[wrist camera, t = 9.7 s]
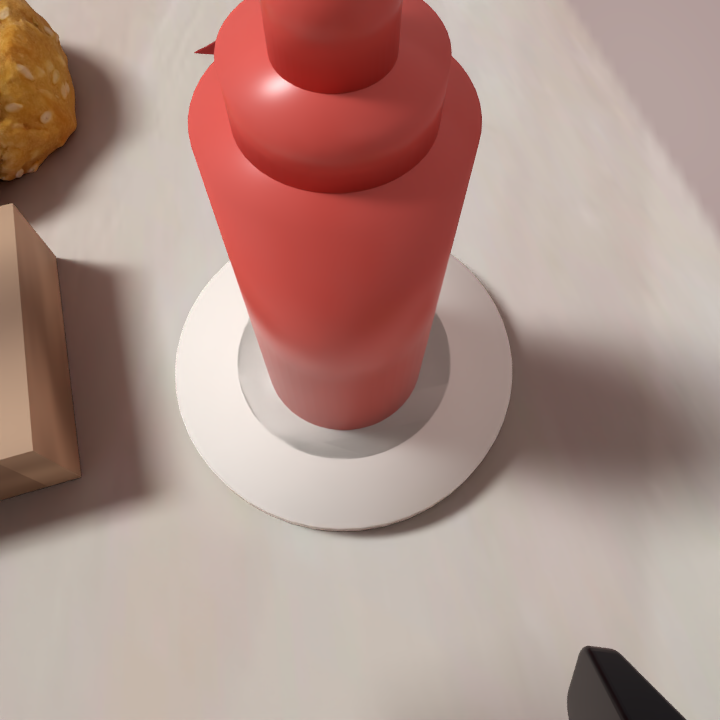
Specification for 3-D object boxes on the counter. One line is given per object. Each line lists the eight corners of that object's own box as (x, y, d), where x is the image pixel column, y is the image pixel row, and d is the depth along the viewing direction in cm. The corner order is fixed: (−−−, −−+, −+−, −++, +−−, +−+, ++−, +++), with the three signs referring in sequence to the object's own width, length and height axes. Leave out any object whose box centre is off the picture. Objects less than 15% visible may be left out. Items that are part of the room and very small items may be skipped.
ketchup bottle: (451, 375, 19) (648, -129, 6) (321, 461, 18) (240, 48, 5) (363, 267, 20) (379, -301, 8) (239, 338, 19) (25, -199, 7)
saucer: (558, 319, 21) (566, 307, 20) (404, 605, 17) (407, 605, 16) (301, 189, 23) (299, 175, 22) (112, 414, 19) (103, 406, 18)
